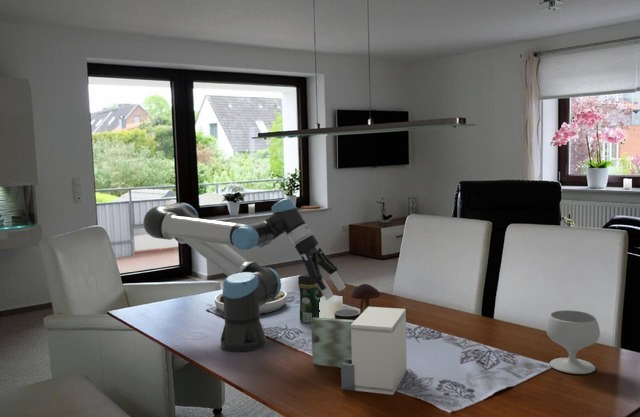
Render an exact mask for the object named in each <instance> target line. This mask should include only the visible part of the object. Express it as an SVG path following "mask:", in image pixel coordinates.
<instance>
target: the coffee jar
mask: <svg viewBox="0 0 640 417" xmlns="http://www.w3.org/2000/svg"><path fill="white" fill-rule="evenodd" d="M320 274H321V278H322V279H323V275H322V273H321V272H320ZM322 279H321V280H322ZM297 283H298V284H297V285H298V288H299V321H300V322H301V323H304V324H307V325H309V324H311V319H312V318H313V317H317V318H319V312H320V310H319V302H320V298H321V297H324V295H323V293H322V292H321V290H320V288H319V287H318V285H317V284H316V283H315V284H313V283H312V281H311V279H310V276H309V274H308V272H307V273H304V274H300V275H299V276H298V282H297Z"/></svg>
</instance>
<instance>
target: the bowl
mask: <svg viewBox="0 0 640 417" xmlns="http://www.w3.org/2000/svg"><path fill="white" fill-rule="evenodd" d="M287 298H288V294H287V292H286V291H285V290H282V289H281V290H280V292H279V294H278V295H277V296H276V297H275V298H274V299H273V300H272V301H270V302H267V303H265V304H263V305H262V306H260V307H259V315H262V314H263V313H264V314H268V313H271V312H274V311H275V312H276V311H277V310H279V309H280V308H282V307H283V306H284V305H285V304H286V302H287ZM214 304H215V307H216V308H217V309H218V310H219V311H221V312H222V313H224V297H223V292H221V293H219V294H217V295H215V297H214Z"/></svg>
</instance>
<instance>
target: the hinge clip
mask: <svg viewBox="0 0 640 417" xmlns="http://www.w3.org/2000/svg"><path fill="white" fill-rule="evenodd" d="M340 377H341V390H344V391H351V392H352V391H355V379H354V365H352V359H349V358H346V359H345V363H341V367H340ZM355 392H356V391H355Z"/></svg>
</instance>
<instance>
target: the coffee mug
mask: <svg viewBox="0 0 640 417" xmlns="http://www.w3.org/2000/svg"><path fill="white" fill-rule="evenodd" d="M359 316H360V310H358V309H353V308H340V309H337V310H335V311H334V319H345V320H356V319H357V318H358V317H359Z"/></svg>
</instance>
